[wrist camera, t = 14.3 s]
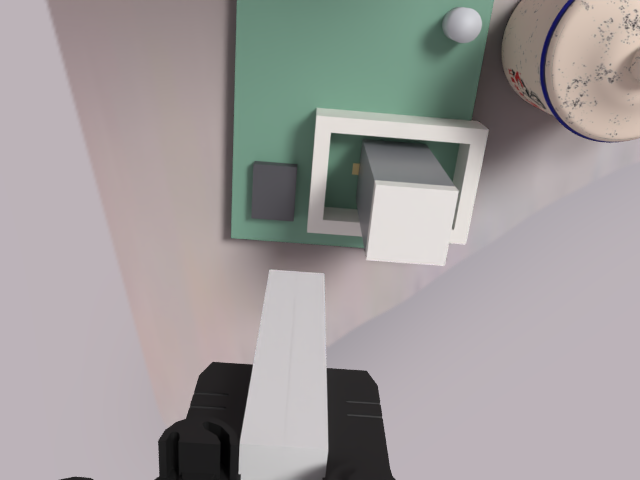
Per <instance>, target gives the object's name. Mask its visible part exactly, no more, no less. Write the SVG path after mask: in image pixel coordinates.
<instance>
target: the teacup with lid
mask: <svg viewBox="0 0 640 480" xmlns="http://www.w3.org/2000/svg"><path fill="white" fill-rule="evenodd" d="M502 64H503V69H504V72H505V75H506V78H507V80H508V82H509V83H510V85H511V87H512V88H513V89H514V91H515V92H516V93H517V94H518V95H519V96H520V97H521V98H522V99H523V100H525V101H526V102H528V103H530V104H531V105H533V106H535V107H537V108H539V109H541V110H542V111H544V112H546V113H548V114H550V115H551V116H553V117H555V118H556V119H557V120H558V121H559V122H560V123H561V124H562V125H563V126H564V127H565V128H567V129H568V130H570V131H571V132H573V133H575V134H576V135H578V136H581V137H583V138H586V139H589V140H593V141H598V142H609V143H610V142H623V141H629V140H634V139H638V138H640V0H522V1H521V2H520V3H519V4H518V6H517V7H516V9H515V10H514V12H513V13H512V15H511V17H510V19H509V21H508V23H507V26H506V29H505V32H504V36H503V41H502Z"/></svg>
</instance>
